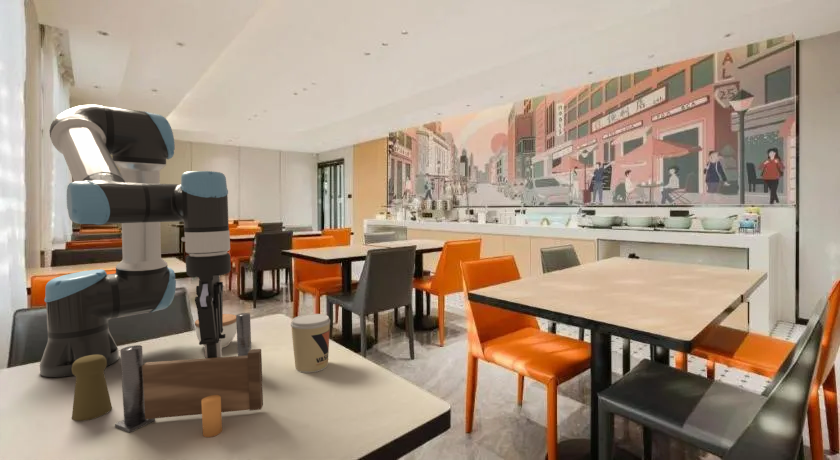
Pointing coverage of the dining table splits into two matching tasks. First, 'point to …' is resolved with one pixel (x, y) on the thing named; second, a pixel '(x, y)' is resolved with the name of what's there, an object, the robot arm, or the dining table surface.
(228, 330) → the lidded jar
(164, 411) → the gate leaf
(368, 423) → the dining table surface
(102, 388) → the cork
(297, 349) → the coffee cup
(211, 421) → the post
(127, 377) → the gate frame
